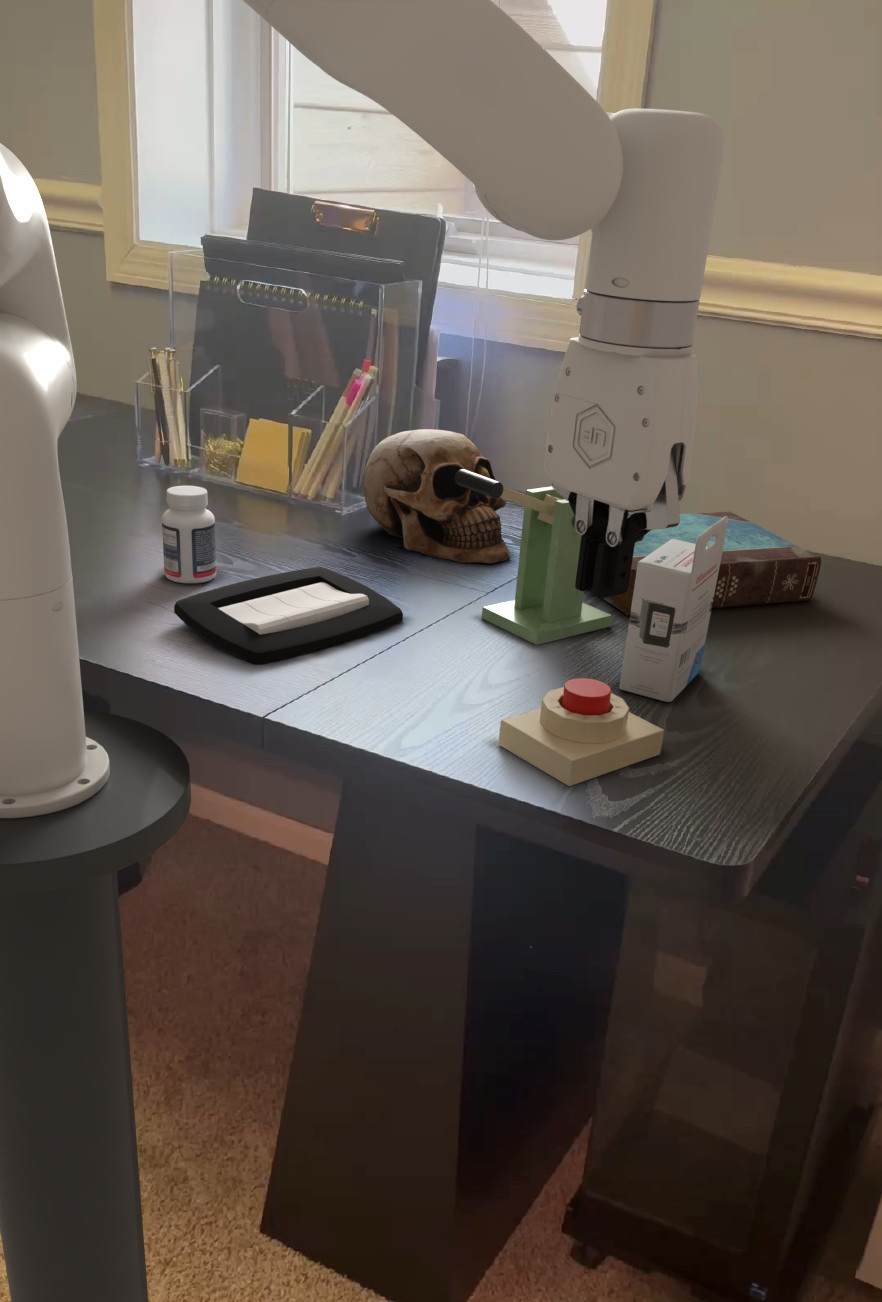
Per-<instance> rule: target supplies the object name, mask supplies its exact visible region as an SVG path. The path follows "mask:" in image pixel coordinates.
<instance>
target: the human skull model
mask: <svg viewBox="0 0 882 1302" xmlns="http://www.w3.org/2000/svg"><path fill="white" fill-rule="evenodd" d="M366 462H367V463H366V465H365V468H364V469H365V470H364V475H363V476H364V477H363V495H364V500H365V504H366V509H367V511H368V513H369V515H371V517H372V518H373V519H374V520H375V522H377V524H378V525H379V526H380V527H381V528H382V529H383V530H384V531H385V532H386V533H387V534H388V535H390V536H394V537H397V538H403V547H404V549H405V550H407V551H409V552H417V553H419V554H423V555H426V556H428V557H432V558H439V559H441V560H450V561H451V560H452V561H454V562H456V563H463V564H478V563H481V564H489V565H491V564H496V563H501V562H504V561H506V560H508V559H509V557H510V555H511V552H510V550H509V548H508V546H507V544H506V542H505V539H504V538H503V536H502V522H501V516H500V515H499V514H498V513H497V511H498V510H500V509H502V508H504V507H506V504H507V500H505V499H503V498H500V497H499V498H497V499H494V498H492V497H489V496H486V495H484V494H481V493H478V492H476V491H473V490H471V489H468V488H465V487H463V486H460V485H458V484H457V483H456V481H455V476H456V474H457V472H458V471H459V470H461V469H465V470H468V471H470V472H473V473H476V474H479V475H481V476H484V477H487V478H489V479H492V480H495V481H497V480H496V477H495V475H494V471H493V469H492V468H493V467H492V463H491V461H490V460H489V458H485V457H484V456H482V454H481V452H480V451H479V449H478V448H477V446H476V445H475V444H474V443H473V442H472V441H471V440H470V439H469V438H468V437H467V436H465V435H464V434H463V433H460V432H455V431H451V430H445V429H432V428H431V429H430V428H429V429H425V428H423V429H422V428H421V429H412V430H406V431H400V432H397V433H394V434H392V435H390V436H388V437H385V438H384V439H382V440H381V441H380V442H379V443H378V444H377V445H375V447H374V448H373V449H372V451H371V453H370V455H369V457H368V460H367V461H366Z"/></svg>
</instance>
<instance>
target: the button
mask: <svg viewBox="0 0 882 1302" xmlns="http://www.w3.org/2000/svg"><path fill="white" fill-rule="evenodd" d="M563 687H564V691H563V699H562V707H563V708H564V709H566V710H568V711H570V712H572V713H577V714H581V715H603V714H606V713H608V711H609V704H610V697H611V693H612V688H611V686H610V685H609V684H607V683H605V682H603V681H601V680H597V679H595V678H594V679H593V678H586V677H580V678H579V677H578V678H571V679H569V680H567V681H565V683H564V685H563Z"/></svg>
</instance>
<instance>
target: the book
mask: <svg viewBox="0 0 882 1302" xmlns="http://www.w3.org/2000/svg"><path fill="white" fill-rule="evenodd" d="M725 516H727V517H728V523H727V529H726V535H725V540H724V545H723V550H722V551H723V552H722V557H721V562H720V567H719V572H718V578H717V583H716V588H715V593H714V598H713V603H712V608H711V610H712V609H723V608H734V607H735V608H736V607H744V606H746V607H747V606H758V605H770V604H781V603H782V604H784V603H795V602H805V601H811V600H812V598H813V596H814V593H815V589H816V586H817V582H818V578H819V574H820V570H821V565H822V557H821V556H819V555H817V556H814V555H812V554H811V553H810V552H808V551H806V550H805V549H804V548H802V547H800V546H799V545H796V544H795V543H793V542H791V541H790V540H787V539H785V538H783V537H781V536H780V535H777V534H776V533H774V532H773V531H770V530H768V529H766V528H764V527H762V526H760V525H758V524H756V523H754V522H752V521H750V520H748V519H746V518H744V517H742V516H740V515H738V514H737V513H734V512H731V511H715V512H714V511H712V512H711V511H710V512H694V513H693V512H692V513H691V512H690V513H680V523H679V525H678V526H676V527H671V528H666V529H654V530H651V531H649V532H648V533H647V534H646V535H645V536H644V539H643V540H642V541H641V542H636V543H635V546H634V553H633V560H632V567H631V573H630V580H629V586H628V590H627V592H626V593H624V594H620V595H615V596H611V597H607V598H602V599H603V600H604V601H605V602H607V603H608V604H610V605H611V606H613V607H615V608H616V609H618V610H619V611H621V612H622V613H623V614H624V615H625V616H630V613H631V607H632V600H633V594H634V587H635V580H636V573H637V566H638V562H639V561H640V560H642V559H643V558H645V557H646V556H648V555H649V554H651V553H652V552H654V551H655V550H656V549H658V548H659V547H661V546H662V545H664V544H665V543H667V542H668V541H669V540H671V539H676V540H680V541H684V542H689V543H693V544H696V540H697V538H698V536H699V535H700V534H702V533H703V532H705V531H706V530H707V529H708V528H709V527H711V526H712V525H714V524H715V523H717V522H718V521H720V520H721V519H723V518H724V517H725ZM629 517H630V516H628V518H629ZM714 540H715V537H711V539H710V541H708V542H707V544H706V547H709V546H710V545H712V544H713V542H714ZM590 591H591V592H592V590H590Z"/></svg>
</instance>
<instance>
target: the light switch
mask: <svg viewBox="0 0 882 1302" xmlns="http://www.w3.org/2000/svg"><path fill="white" fill-rule="evenodd" d="M173 612H174V614H175V615H176V617H178V618H179V619H180V621H182V622H183V623H184V624H185V625H186V626H187V627H188V628H190V629H191V630H192V631H194V632H195V633H196V634H197V635H199V636H201V637H202V638H203V639H204V640H206V641H207V642H209V643H211V644H213V645H215V646H216V647H218V648H220V649H222V650H223V651H225V652H227V653H229V654H232V655H234V656H237V657H238V658H241V659H243V660H245V661H247V662H249V663H252V664H256V665H260V664H266V663H267V664H268V663H271V662H277V661H282V660H286V659H290V658H295V657H298V656H302V655H306V654H311V653H314V652H319V651H322V650H326V649H329V648H333V647H336V646H340V645H344V644H346V643H349V642H352V641H356V640H359V639H361V638H364V637H367V636H370V635H372V634H375V633H378V632H381V631H383V630H386V629H389V628H390V627H393V626H394V625H395V626H396V625H398V624H400V623H402V622H403V620H404V613H403V611H402V609H401V608H400V607H399V606H397V605H396V604H395V603H394V602H393V601H391V600H390V599H388V598H387V597H386V596H384V595H383V594H380V593H379V592H377V591H376V590H374V589H372V588H371V587H369V586H367V585H365V584H363V583H361V582H359V581H357V580H355V579H352V578H350V577H349V576H346V575H344V574H342V573H338V572H337V571H334V570H332V569H329V568H326V567H322V566H316V567H309V568H302V569H296V570H291V571H285V572H279V573H275V574H270V575H266V576H265V575H264V576H261V577H256V578H252V579H247V580H243V581H238V582H236V583H232V584H228V585H223V586H220V587H217V588H214V589H210V590H206V591H203V592H199V593H197V594H194V595H190V596H187V597H185V598H182V599H179V600H177V601H176V602H175V604H174V606H173Z"/></svg>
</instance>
